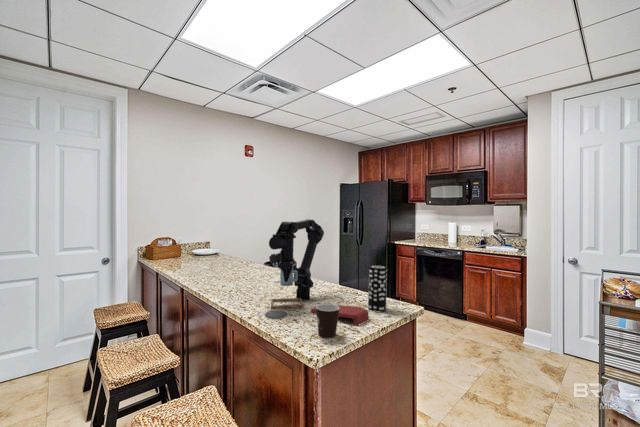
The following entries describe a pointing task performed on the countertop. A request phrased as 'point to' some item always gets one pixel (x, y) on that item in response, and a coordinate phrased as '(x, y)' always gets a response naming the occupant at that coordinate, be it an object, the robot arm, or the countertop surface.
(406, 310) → the countertop surface
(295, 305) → the brown wooden frame
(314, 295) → the countertop surface
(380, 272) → the spotted tube
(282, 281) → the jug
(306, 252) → the robot arm
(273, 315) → the coaster
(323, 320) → the coffee mug
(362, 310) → the carton
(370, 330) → the countertop surface
